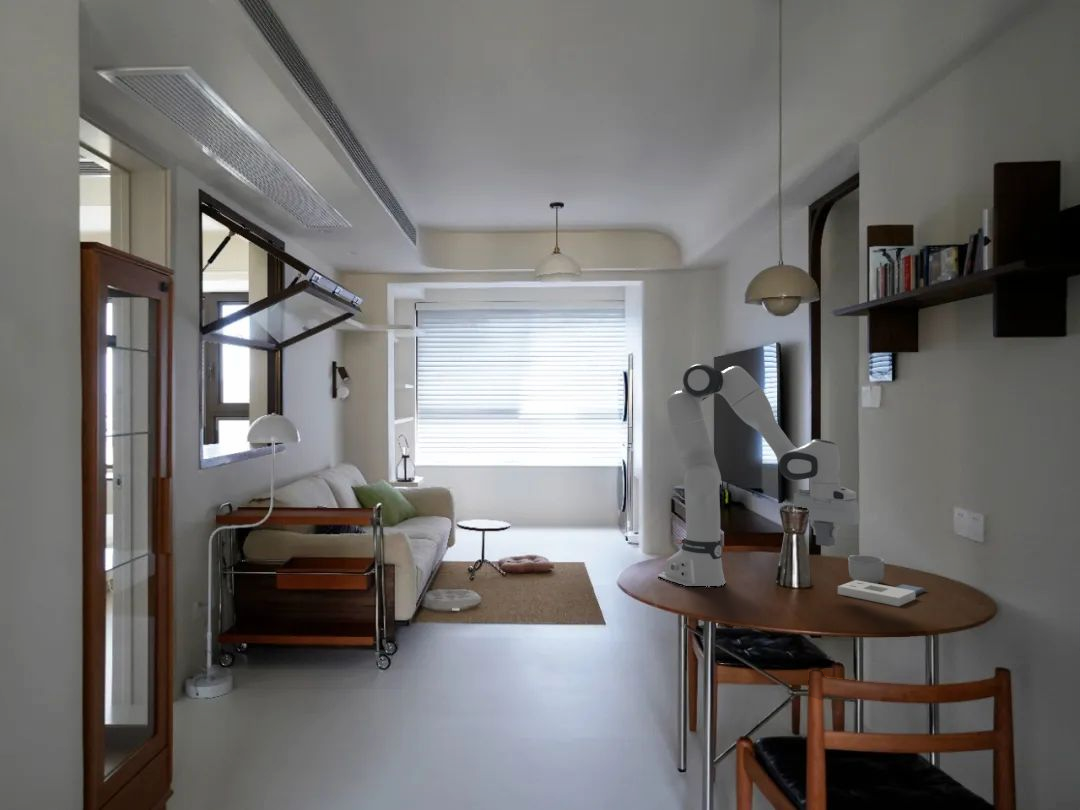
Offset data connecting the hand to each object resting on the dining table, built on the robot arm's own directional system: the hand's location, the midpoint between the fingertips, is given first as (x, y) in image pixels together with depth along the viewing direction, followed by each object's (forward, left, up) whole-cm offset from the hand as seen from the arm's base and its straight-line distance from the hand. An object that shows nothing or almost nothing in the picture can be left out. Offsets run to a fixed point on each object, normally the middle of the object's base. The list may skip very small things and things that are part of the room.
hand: (825, 536), depth 220 cm
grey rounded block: (+2, +22, -18) cm, 29 cm away
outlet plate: (+13, +6, -17) cm, 22 cm away
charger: (0, 0, -3) cm, 3 cm away
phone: (+17, +18, -17) cm, 30 cm away
